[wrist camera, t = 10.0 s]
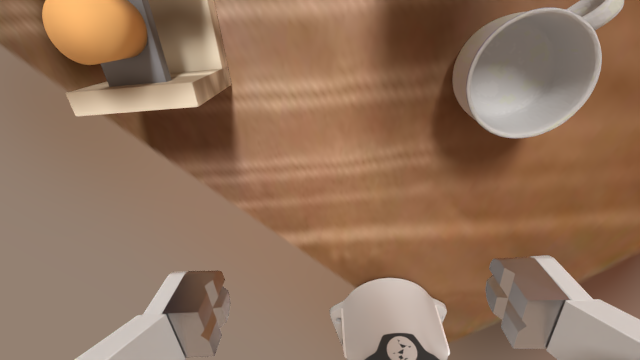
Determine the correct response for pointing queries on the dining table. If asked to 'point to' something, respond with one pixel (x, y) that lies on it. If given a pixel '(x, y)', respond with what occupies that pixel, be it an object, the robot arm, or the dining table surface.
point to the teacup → (532, 67)
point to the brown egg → (95, 29)
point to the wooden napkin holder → (163, 63)
